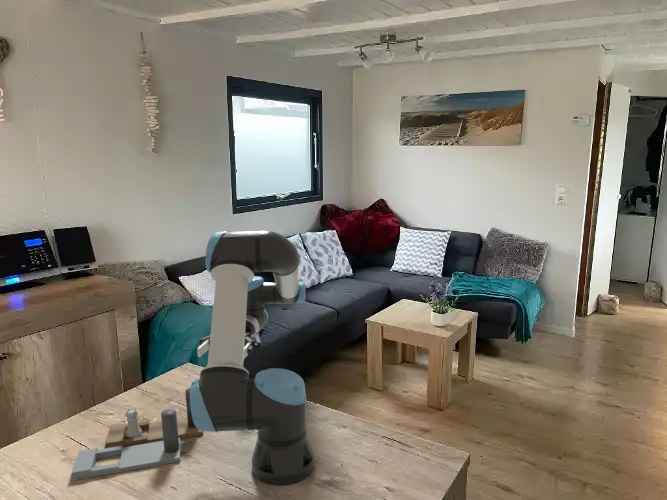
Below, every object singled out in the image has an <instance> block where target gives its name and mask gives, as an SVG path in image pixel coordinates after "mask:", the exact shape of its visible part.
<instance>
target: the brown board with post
mask: <svg viewBox="0 0 667 500" xmlns="http://www.w3.org/2000/svg"><path fill="white" fill-rule="evenodd" d="M184 392H185V401H186V402H185V403H186V406H185V407H186V416H184V417H179V418H178V417H177V427H178V438H180V439H185V438H191V437H196V436H203V435H204V431H200V430H198V429H197V428H196V427H195V425H194V422H193V419H192V414H191V407H190V387H188V388H187V389H185V391H184ZM138 425H139V427H140V429H141V430H142V431H143V430H148V433H147V435H142V436H141V437H135V438H129V439H125V437H126V436H125V433H126V430H127V427H128V423H127V422H126V423H125V422H123V423H118V424H117V423H116V424H111V425H109V428H108V432H107V437H106V441H105V448H111V447H117V446H123V447H128V446H135V445H141V444H147V443H153V442H159V441H163V430H162V420H159V421H152V422H150V420H148V421H141V422H138Z"/></svg>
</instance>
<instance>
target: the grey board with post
mask: <svg viewBox="0 0 667 500" xmlns="http://www.w3.org/2000/svg"><path fill="white" fill-rule="evenodd" d="M160 416H161V417H160V418H161V421H162V430H163V441H159V442H153V443H147V444H141V445H135V446H128V447H123V446H117V447H111V448H106V447H105V448H99V449H97V447H96V448H89V449H88V448H87V449H82V450H79V451H78V453H77V456H76V459H75V462H74V465H73V469H72V471H71V476H72V481H76V480H83V479H87V478H88V479H89V478H92V477H93V478H94V477H99V476H105V475H111V474H116V473H123V472H127V471H133V470H138V469H144V468H149V467H150V468H151V467H156V466H161V465H166V464H172V463H177V462H178V463H179V462H181V438H178V427H177V418H178V416H177V410H176V409H174V408H168V409H165V410H163V411H162V412H161V413H160ZM119 455H120V459H119V462H116V463H109V464H104V465H99V466H96V462H97V459H103V458H109V457H115V456H119Z"/></svg>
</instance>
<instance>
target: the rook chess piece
mask: <svg viewBox="0 0 667 500" xmlns="http://www.w3.org/2000/svg"><path fill="white" fill-rule="evenodd" d="M125 411H126V412H125V414H124V416H125V417H126V421H127V424H128V427H127V430H126V433H125V439H129V438H135V437H141V436H144V435H143V430H141V429H140V427H139V425H138V423H139V422H138V418H139V417H138V416H137V415H138V414H139V412H138V411H139V410H137V408H136V407H135V408H134V407H132V408H128V409H126V410H125Z"/></svg>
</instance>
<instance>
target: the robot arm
mask: <svg viewBox="0 0 667 500" xmlns="http://www.w3.org/2000/svg"><path fill="white" fill-rule="evenodd" d="M204 261H205V268H206V271H207V272H208V273H209V274H210V277H211V278H212V280H213V281H214V282H215V285H214V286H215V287H214V296H213V306H212V308H213V309H212V317H211V328H210V334H209V335H207V336H204V337H201V338H199V339H198V341H199V342H198V344H199V345H198V347H197V349H196V351H197V358H202V356H203V355H204V354H205V353H206V352H207V351H208V357H207V365H206V366H205V367H203V368H202V369H201V370H200V373H199V379H195V380H193V381H191V384H190V386H189V388H190V407H191V414H192V419H193V422H194V425H195V427H196V428H197V429H198V430H200V431H203V432H214V433H218V432H232V431H234V432H235V431H257V439H256V442H255V443H256V444H255V447H254V450H253V453H252V456H251V471H252V473H253V475H254V477H255V478H256V479H257V480H259V481H260V482H263V483H265V484H269V485H275V486H285V485H291V484H294V483H298V482H300V481H302V480H305V478H307V477H308V476H309V475H311V473H312V472H313V471H314V468H315V465H316V464H315V461H316V460H315V451H314V449H313V447H312V444H311V442H310V440H309V437H308V434H307V411H306V410H307V409H306V407H307V406H306V402H307V393H306V385H305V382H304V379H303V378H302V377H301V376H300V374H298V373H295V372H294V371H291V370H289V369H286V368H277V367H272V368H267V369H263V370H260V371H259V372H257V373H256V374H255V377H254V378H249V375H250V372H249V371H248V369H246V368H245V367H244V360H245V359H246V358H247V357H248V355H250V354H252V353H253V352H255V351H256V350H257V351H262V341H261V339H260V331H261V330H262V329H263V328H264V327H265V326H266V324H267V322H268V320H269V314H268V312H267V310H266V309H265V305H285V304H286V305H287V304H291V305H292V304H294V305H296V304H303V303H305V302H306V284H305V282H303V281H299V274H298V268H299V266H300V253H299V251H298V249H297V247H296V246H295V244H294V243H293V242H291V240H290V239H288V238H287V237H285V236H284V235H282V234H280V233H279V232H275V231H271V230H267V229H265V230H245V231H244V230H242V231H240V230H239V231H238V230H237V231H231V230H225V231H216V232H214V233H213V234H211V236H210V237H209V239H208V242H207V244H206V250H205V260H204ZM268 272H269V273H272V274H273V278H274V282H265V281H264V278H263V276H262V277H261V276H255V273H268Z"/></svg>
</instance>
